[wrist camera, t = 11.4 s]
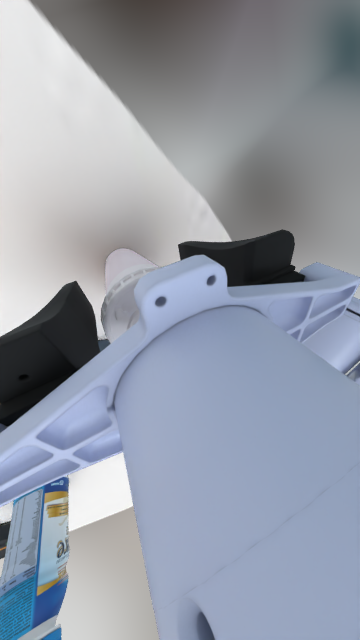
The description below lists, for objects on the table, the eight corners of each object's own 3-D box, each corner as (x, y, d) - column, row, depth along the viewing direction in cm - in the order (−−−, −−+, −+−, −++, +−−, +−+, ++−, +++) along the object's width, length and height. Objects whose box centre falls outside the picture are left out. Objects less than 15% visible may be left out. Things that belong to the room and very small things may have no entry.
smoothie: (73, 256, 17) (78, 382, 6) (135, 219, 17) (230, 284, 7) (116, 305, 21) (158, 426, 11) (164, 275, 21) (247, 364, 11)
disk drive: (-52, 558, 36) (37, 530, 46) (-60, 581, 34) (35, 547, 44) (-31, 531, 34) (58, 508, 44) (-38, 553, 32) (57, 524, 42)
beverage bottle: (15, 481, 31) (-31, 743, 17) (73, 466, 36) (75, 658, 22) (12, 504, 35) (-29, 738, 20) (65, 486, 39) (62, 665, 25)
